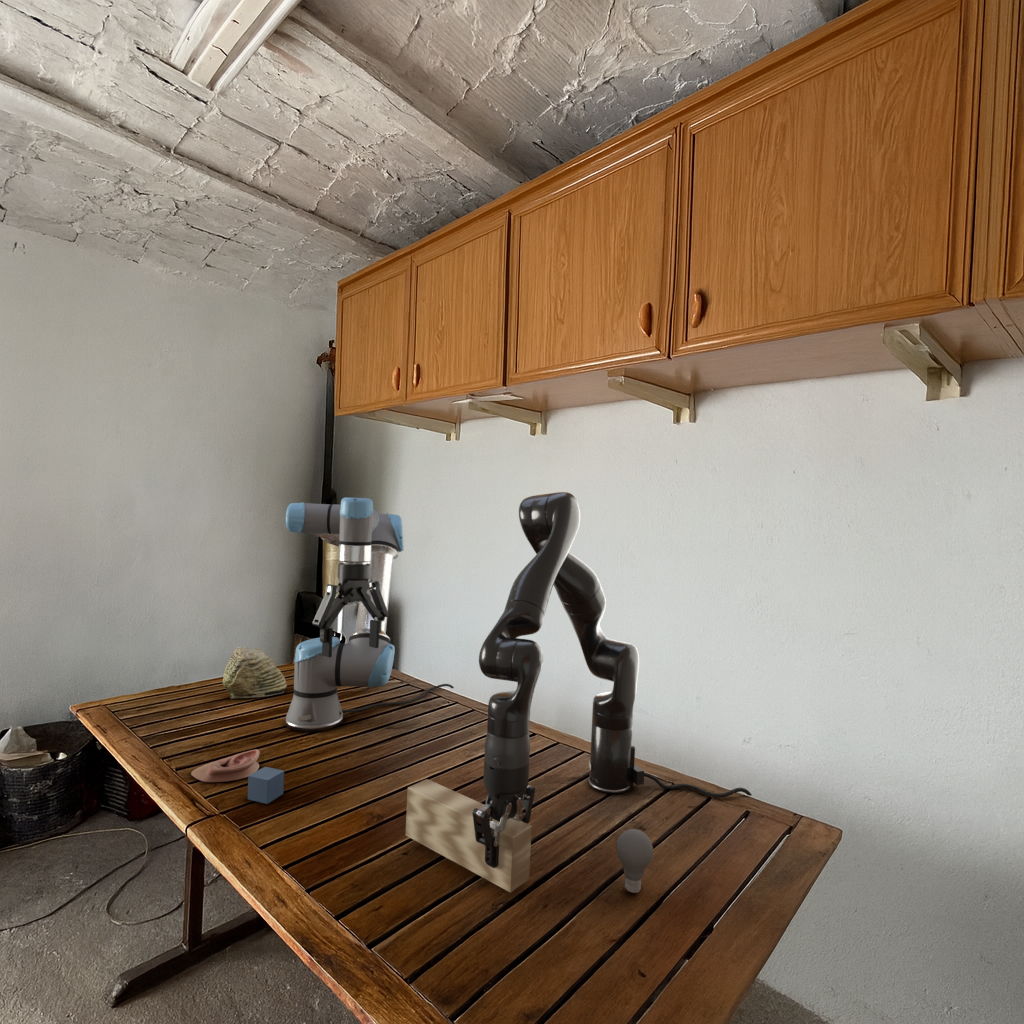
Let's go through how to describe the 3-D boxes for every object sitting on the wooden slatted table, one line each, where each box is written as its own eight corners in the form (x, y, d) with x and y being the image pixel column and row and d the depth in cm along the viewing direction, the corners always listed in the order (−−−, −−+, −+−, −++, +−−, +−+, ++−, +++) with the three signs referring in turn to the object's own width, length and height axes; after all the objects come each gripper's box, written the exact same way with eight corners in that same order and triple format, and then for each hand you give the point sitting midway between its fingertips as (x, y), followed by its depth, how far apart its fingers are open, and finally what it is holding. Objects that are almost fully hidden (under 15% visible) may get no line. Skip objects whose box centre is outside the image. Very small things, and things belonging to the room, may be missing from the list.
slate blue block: (264, 789, 136) (265, 766, 136) (283, 793, 134) (284, 770, 134) (247, 799, 131) (248, 775, 131) (267, 804, 130) (268, 780, 130)
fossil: (218, 695, 195) (220, 647, 195) (278, 685, 208) (279, 640, 207) (228, 703, 189) (230, 653, 188) (289, 692, 201) (290, 645, 201)
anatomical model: (182, 760, 139) (216, 741, 150) (181, 778, 139) (216, 758, 150) (236, 768, 136) (267, 748, 147) (235, 786, 136) (266, 765, 147)
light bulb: (610, 879, 108) (613, 822, 108) (644, 879, 109) (647, 822, 109) (619, 902, 102) (622, 840, 102) (655, 901, 103) (658, 840, 103)
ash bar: (405, 835, 117) (407, 787, 117) (425, 825, 121) (427, 778, 121) (510, 893, 101) (513, 837, 101) (529, 879, 105) (532, 825, 105)
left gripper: (385, 558, 162) (381, 641, 163) (298, 563, 143) (295, 657, 143) (404, 561, 158) (401, 646, 158) (318, 567, 138) (314, 663, 139)
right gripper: (516, 739, 113) (512, 833, 114) (460, 763, 102) (456, 867, 102) (550, 751, 109) (546, 849, 109) (496, 778, 97) (491, 887, 98)
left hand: (351, 651), depth 151 cm, fingers open, 13 cm apart
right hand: (502, 858), depth 106 cm, fingers closed on ash bar, 5 cm apart
